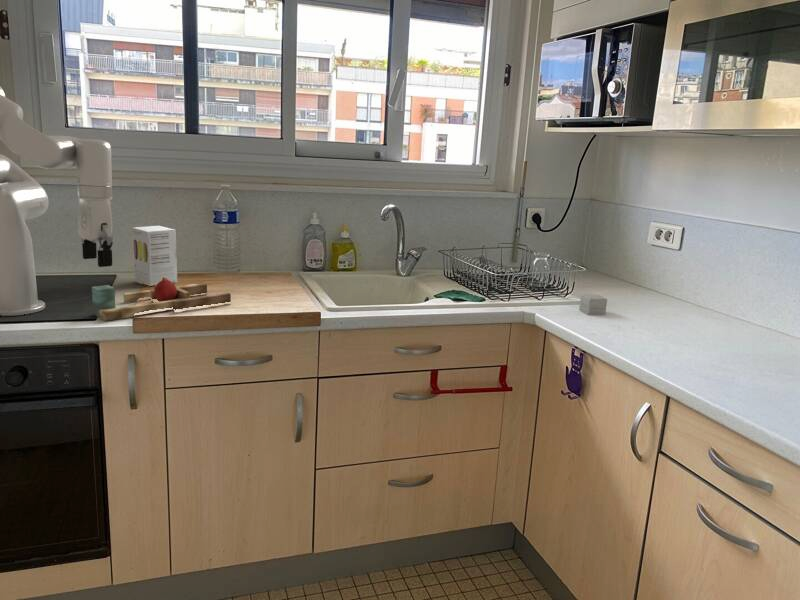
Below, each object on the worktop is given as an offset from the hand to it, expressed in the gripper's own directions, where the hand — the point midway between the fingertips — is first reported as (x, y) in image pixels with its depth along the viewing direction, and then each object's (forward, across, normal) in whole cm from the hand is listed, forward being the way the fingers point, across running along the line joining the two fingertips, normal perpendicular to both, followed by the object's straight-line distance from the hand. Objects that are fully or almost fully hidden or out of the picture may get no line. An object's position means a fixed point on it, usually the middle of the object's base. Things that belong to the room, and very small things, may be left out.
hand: (97, 262), depth 160 cm
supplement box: (+14, -26, +27) cm, 40 cm away
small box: (+9, +75, +111) cm, 134 cm away
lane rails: (+13, +2, +24) cm, 27 cm away
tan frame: (+13, +2, +10) cm, 17 cm away
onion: (+13, +1, +17) cm, 22 cm away
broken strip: (+13, -8, +20) cm, 25 cm away
